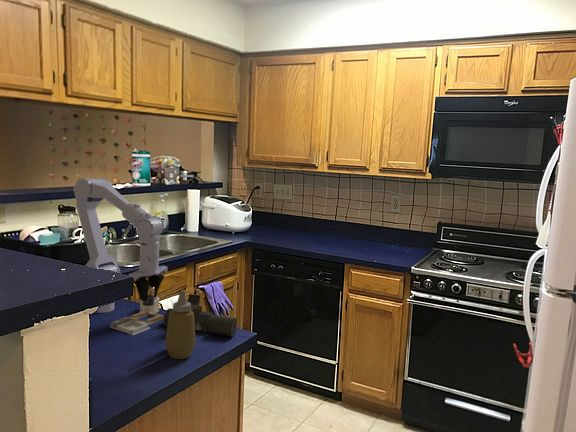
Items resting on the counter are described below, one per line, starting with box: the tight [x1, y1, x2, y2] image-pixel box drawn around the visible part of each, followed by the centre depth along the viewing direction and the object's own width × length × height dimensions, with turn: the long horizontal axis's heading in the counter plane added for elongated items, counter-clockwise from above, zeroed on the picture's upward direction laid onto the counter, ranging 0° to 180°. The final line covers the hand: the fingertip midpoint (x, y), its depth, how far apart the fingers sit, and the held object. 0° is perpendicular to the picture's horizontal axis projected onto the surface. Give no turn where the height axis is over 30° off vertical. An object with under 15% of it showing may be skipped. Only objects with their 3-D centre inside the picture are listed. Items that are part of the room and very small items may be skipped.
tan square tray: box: [129, 310, 164, 326], centre depth 150 cm, size 7×8×2 cm
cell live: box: [142, 285, 155, 306], centre depth 148 cm, size 4×4×6 cm
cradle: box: [109, 316, 151, 336], centre depth 142 cm, size 10×7×2 cm
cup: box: [139, 296, 160, 314], centre depth 158 cm, size 6×6×5 cm
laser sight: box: [162, 293, 238, 337], centre depth 145 cm, size 10×22×10 cm, turn 79°
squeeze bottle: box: [164, 289, 197, 360], centre depth 127 cm, size 8×8×18 cm
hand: (148, 298), depth 149 cm, fingers closed on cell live, 4 cm apart
